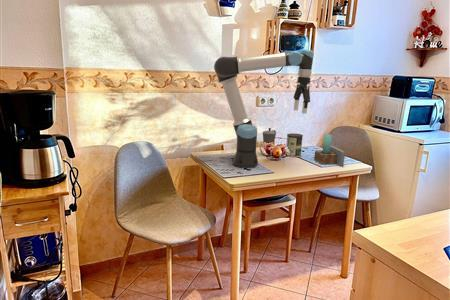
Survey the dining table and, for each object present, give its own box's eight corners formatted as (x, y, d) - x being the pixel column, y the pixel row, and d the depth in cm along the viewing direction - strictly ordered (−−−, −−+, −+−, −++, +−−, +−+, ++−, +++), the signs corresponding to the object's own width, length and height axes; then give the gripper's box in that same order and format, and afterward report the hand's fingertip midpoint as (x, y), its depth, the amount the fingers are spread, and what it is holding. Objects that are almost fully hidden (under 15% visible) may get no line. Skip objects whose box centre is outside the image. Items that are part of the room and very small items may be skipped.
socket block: (321, 164, 206) (322, 154, 205) (314, 159, 216) (315, 150, 214) (335, 164, 208) (337, 154, 206) (328, 159, 217) (329, 150, 216)
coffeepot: (269, 157, 218) (271, 130, 213) (257, 154, 223) (258, 128, 219) (280, 152, 230) (282, 127, 225) (268, 150, 235) (269, 125, 231)
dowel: (323, 160, 209) (326, 135, 205) (320, 158, 213) (323, 134, 209) (330, 160, 210) (333, 135, 206) (326, 158, 214) (329, 134, 210)
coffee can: (299, 153, 230) (301, 133, 227) (302, 157, 220) (304, 136, 217) (284, 152, 231) (286, 132, 227) (286, 156, 221) (288, 136, 217)
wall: (340, 166, 203) (342, 152, 201) (325, 157, 222) (326, 144, 220) (343, 166, 204) (345, 152, 201) (328, 157, 223) (329, 144, 220)
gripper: (319, 78, 189) (314, 115, 194) (302, 76, 213) (297, 109, 218) (306, 77, 187) (301, 114, 193) (291, 75, 211) (287, 108, 216)
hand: (299, 111), depth 205 cm, fingers open, 13 cm apart
